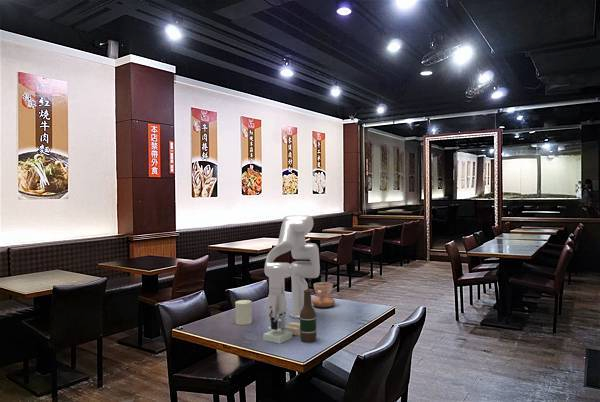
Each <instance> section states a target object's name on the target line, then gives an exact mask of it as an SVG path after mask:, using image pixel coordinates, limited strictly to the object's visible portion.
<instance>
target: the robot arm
mask: <svg viewBox="0 0 600 402" xmlns="http://www.w3.org/2000/svg"><path fill="white" fill-rule="evenodd" d="M313 227H314V218H313V217H312V216H310V215H286V216H284V217H283V218H282V223H281V227H280V232H279V236H278V243H277V244H276V245H275V246H274V247H273V248H272V249H271V250H270V251H269V252H268V253H267V256H266V259H265V262H264V270H263V272H264V274H265V276H266V277H267V278H268V290H269V291H268V293H269V294H268V295H267V302H266V303H267V304H266V314H267V315H266V317H267V319H268V318H269V319H268V320H269V321H271V323H270V325H271V329H273V330H277V321H276V317H277V315H282V316H286V314H287V313H288V308H287V297H286V290H285V289H286V288H285V286H286V285H285V283H286V282H285V279H288V278H291V304H292V305H291V309H292V311H291V312H289V316H290V318H296V319H300V313H301V310H302V308H303V306H304V293H303V292H304V290H309V286H308V285H309V283H308V282H307V281H306V279H317V278H318V277H319V276H320V274H321V273H320V270H321V266H320V252H319V251H320V250H319V247H318V245H317V243H312V242H306V235H308V234H309V233H310V232H311V231H312V229H313ZM290 251H291V257H292V259H295V260H296V261H293V262H291V263H289V262H276V261H275V260H276V258H277V257H280V256H281V255H284V254H286V253H288V252H290ZM299 260H300V261H299ZM307 260H308V261H307ZM274 261H275V262H274ZM273 316H274V318H273ZM271 329H270V330H271Z"/></svg>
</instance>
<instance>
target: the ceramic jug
mask: <svg viewBox="0 0 600 402" xmlns="http://www.w3.org/2000/svg"><path fill="white" fill-rule="evenodd" d="M333 286H334V284H333V283H331V282H325V281H324V282H315V283H313V289H314V291H315V294H316V296H314V297H313V299H312V298H311V302H312V306H314V307H317V308H321V309H323V308H324V309H325V308H330V307H332V306H334V305H335V304H336V300H335V299H334V298H333V297H332V296H331V293H332V290H333Z"/></svg>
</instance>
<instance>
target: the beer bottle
mask: <svg viewBox="0 0 600 402" xmlns="http://www.w3.org/2000/svg"><path fill="white" fill-rule="evenodd" d="M303 293H304V306H303V308H302V310H301V313H300V318H299V323H300V334H299V336H300V341H302V342H303V343H313V342H315V341H317V315H316V311H315V309H314V307H313V304H312V290H311V289H308V290H304V292H303Z"/></svg>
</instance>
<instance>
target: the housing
mask: <svg viewBox="0 0 600 402" xmlns="http://www.w3.org/2000/svg"><path fill="white" fill-rule="evenodd" d="M273 318H274V316H273ZM267 320H269V321H270V319H269V318H268V317H267ZM287 320H288V315H285V316H282V315H277V317H276V321H277V331H283V330H286V329H288V328H287V326H285V325H286V321H287ZM267 330H270V331H272V330H273V329H271V321H270V325H268V326H267Z"/></svg>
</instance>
